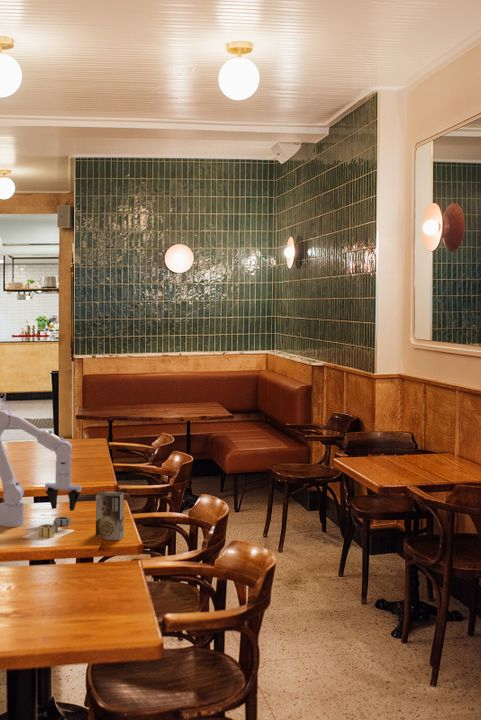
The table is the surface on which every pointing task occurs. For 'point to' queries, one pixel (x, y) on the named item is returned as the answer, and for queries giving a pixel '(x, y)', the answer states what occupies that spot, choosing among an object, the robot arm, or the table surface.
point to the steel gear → (63, 521)
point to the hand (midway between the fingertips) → (63, 509)
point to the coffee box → (110, 515)
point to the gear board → (58, 533)
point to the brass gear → (46, 531)
